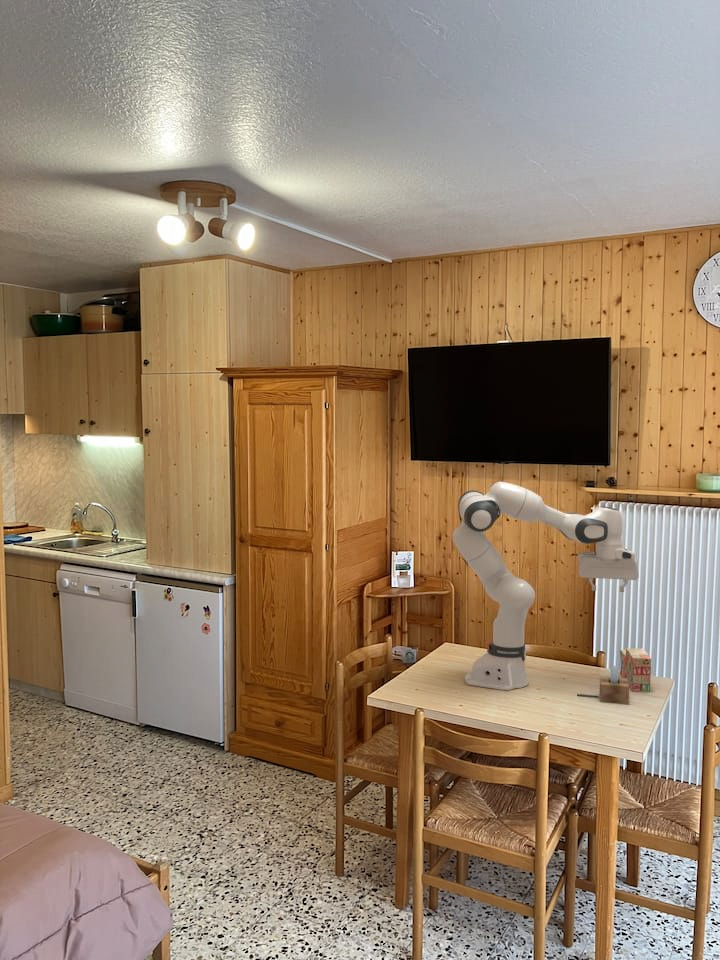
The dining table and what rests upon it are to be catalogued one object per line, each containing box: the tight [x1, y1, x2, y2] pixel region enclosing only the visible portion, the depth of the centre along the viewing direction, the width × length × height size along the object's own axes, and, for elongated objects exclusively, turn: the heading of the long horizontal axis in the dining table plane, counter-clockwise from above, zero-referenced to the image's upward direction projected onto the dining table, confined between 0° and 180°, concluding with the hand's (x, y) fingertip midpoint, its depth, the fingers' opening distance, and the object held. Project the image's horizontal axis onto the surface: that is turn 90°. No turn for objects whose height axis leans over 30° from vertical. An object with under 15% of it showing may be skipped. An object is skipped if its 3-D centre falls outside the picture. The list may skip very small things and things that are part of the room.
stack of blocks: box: [619, 647, 652, 693], centre depth 282 cm, size 21×6×12 cm, turn 173°
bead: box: [599, 675, 630, 705], centre depth 264 cm, size 9×9×6 cm
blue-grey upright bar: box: [609, 665, 619, 683], centre depth 264 cm, size 2×2×11 cm
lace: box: [576, 693, 599, 699], centre depth 267 cm, size 7×1×1 cm, turn 75°
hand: (607, 591), depth 276 cm, fingers open, 8 cm apart
